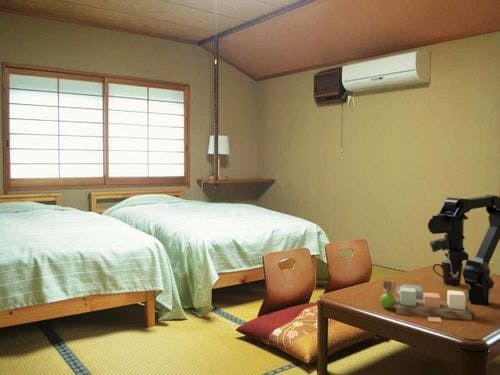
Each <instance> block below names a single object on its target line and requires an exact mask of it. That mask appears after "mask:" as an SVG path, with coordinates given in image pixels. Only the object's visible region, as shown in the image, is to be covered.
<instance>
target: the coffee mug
mask: <svg viewBox="0 0 500 375" xmlns="http://www.w3.org/2000/svg"><path fill="white" fill-rule="evenodd" d="M436 266H440V268H441V269H442V270H441V271H442V274H440V273H438V272H437V271H436V270H435V267H436ZM463 268H464V261H463V262H462V264H461V266H460V267H459V269H458V271H457V273H456V275H453V274H452V270H451V266H450V261H449V259H448V258H446V259H441V264H440V263H435V264H434V265H432V270H433V271H434V273H435V274H437V276H440V277H441V278H442V279H443V284H444V285H446V286H449V287H450V286H451V287H459V286H461V281H462V275H463Z"/></svg>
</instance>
